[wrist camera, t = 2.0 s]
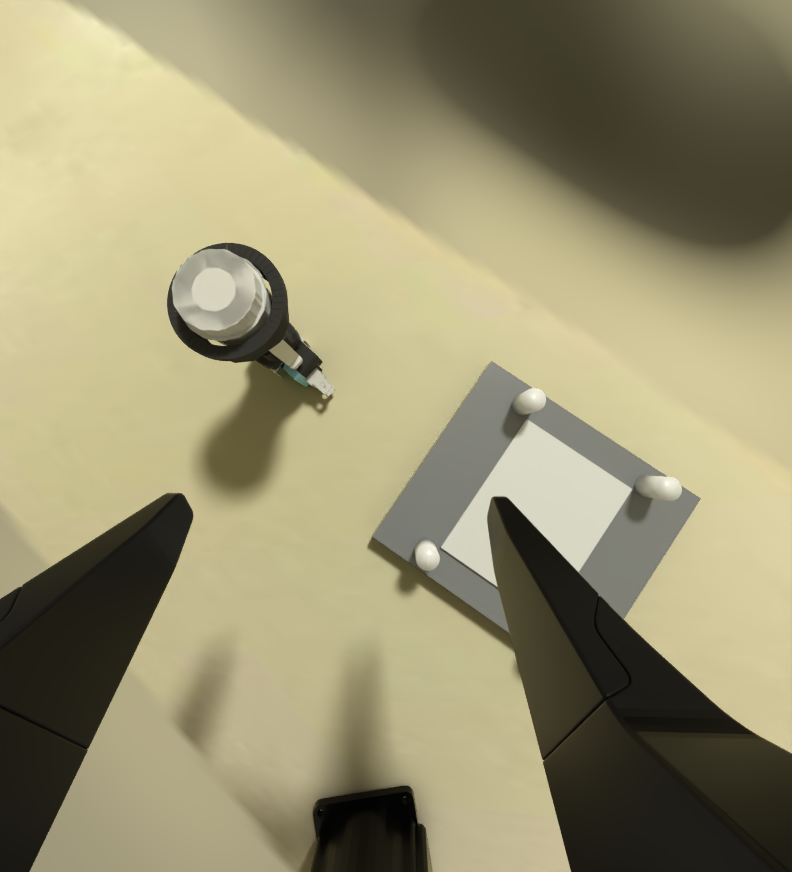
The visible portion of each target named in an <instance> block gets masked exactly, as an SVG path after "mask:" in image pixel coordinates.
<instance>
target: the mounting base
mask: <svg viewBox="0 0 792 872" xmlns="http://www.w3.org/2000/svg"><path fill="white" fill-rule="evenodd" d="M493 496H505V497H507V498H509V499H510V500H511V501H512V503H513V504H514V505H515V506H516V507H517V508H518V509H519V510H520V511H521V512H522V513H523V514H524V515H525V516H526V517H527V518H528V519H529V521H530V522H531V523H532V524H533V525H534V526H535V527H536V528H537V529H538V530H539V531H540V532H541V533H542V534H543V535H544V536H545V537H546V538H547V540H548V541H549V542H550V543H551V544H552V545H553V546H554V547H555V548H556V549H557V550H558V551H559V552H560V553H561V554H562V555H563V556H564V558H565V559H566V560H567V561H568V562H569V563H570V564H571V565H572V566H573V567H574V568H575V569H576V570H577V571H578V572H579V573H580V574H581V575H582V577H583V578H584V579H585V580H586V581H587V582H588V583H589V584H590V585H591V586H592V587H593V588H594V589H595V590H596V591H597V592H598V594H599V595H598V596H601V597H602V598H603V599H604V600H605V601H606V602H607V603H608V604H609V605H610V606H611V607H612V608H613V609H614V610H615V611H616V612H617V613H618V614H619V615H620V616H621V617H622V618H623V619H624V618H625V616H626V615H627V613H628V612H629V610H630V609H631V607H632V605H633V604H634V602H635V601H636V599H637V598H638V596H639V594H640V593H641V591H642V590H643V588H644V587H645V585H646V584H647V582H648V580H649V579H650V577H651V576H652V574H653V573H654V571H655V569H656V568H657V566H658V565H659V563H660V562H661V560H662V559H663V557H664V555H665V554H666V552H667V551H668V549H669V548H670V546H671V544H672V543H673V541H674V540H675V538H676V537H677V535H678V533H679V532H680V530H681V529H682V527H683V526H684V524H685V523H686V521H687V519H688V518H689V516H690V515H691V513H692V512H693V510H694V508H695V507H696V505H697V504H698V502H699V501H700V499H701V498H699V497H698V496H696V495H695V494H693V493H691V492H690V491H688V490H687V489H685V488H684V487H682V486H681V484H680V482H679V481H678V480H677V479H675V478H672V477H667V476H666V475H664V474H663V473H661V472H660V471H658V470H657V469H655V468H653V467H652V466H650V465H649V464H647V463H646V462H644V461H643V460H641V459H640V458H638V457H637V456H635V455H634V454H632V453H631V452H629V451H628V450H626V449H625V448H623V447H622V446H620V445H619V444H617V443H615V442H614V441H612V440H611V439H609V438H608V437H606V436H605V435H603V434H602V433H600V432H599V431H597V430H596V429H594V428H593V427H591V426H590V425H588V424H587V423H585V422H584V421H582V420H581V419H579V418H578V417H576V416H574V415H573V414H571V413H570V412H568V411H567V410H565V409H564V408H562V407H561V406H559V405H558V404H556V403H555V402H553V401H552V400H550V399H549V398H547V397H546V396H545V394H544V393H543V392H542V391H541V390H540V389H537V388H532V387H530V386H529V385H527V384H526V383H524V382H523V381H521V380H520V379H518V378H517V377H515V376H514V375H512V374H511V373H509V372H508V371H506V370H505V369H503V368H502V367H500V366H498V365H497V364H495V363H494V362H492V361H491V362H490V363H489V364H488V365H487V367H486V368H485V370H484V371H483V373H482V374H481V376H480V377H479V379H478V380H477V382H476V383H475V384H474V386H473V387H472V389H471V390H470V392H469V393H468V395H467V396H466V398H465V399H464V401H463V402H462V404H461V405H460V407H459V408H458V409H457V411H456V412H455V414H454V415H453V417H452V418H451V420H450V421H449V423H448V424H447V426H446V427H445V429H444V430H443V432H442V433H441V434H440V436H439V437H438V439H437V440H436V442H435V443H434V445H433V446H432V448H431V449H430V451H429V452H428V454H427V455H426V457H425V458H424V459H423V461H422V462H421V464H420V465H419V467H418V468H417V470H416V471H415V473H414V474H413V476H412V477H411V479H410V480H409V482H408V483H407V485H406V486H405V487H404V489H403V490H402V492H401V493H400V495H399V496H398V498H397V499H396V501H395V502H394V504H393V505H392V507H391V508H390V510H389V511H388V512H387V514H386V515H385V517H384V518H383V520H382V521H381V523H380V524H379V526H378V527H377V529H376V530H375V532H374V533H373V536H372V537H373V538H375V539H376V540H378V541H379V542H380V543H382V544H383V545H385V546H386V547H388V548H389V549H390V550H392V551H393V552H395V553H396V554H397V555H399V556H400V557H402V558H403V559H405V560H406V561H407V562H409V563H410V564H412V565H413V566H415V567H416V568H417V569H419V570H420V571H422V572H423V573H424V574H426V575H427V576H429V577H430V578H432V579H433V580H434V581H436V582H437V583H439V584H440V585H442V586H443V587H444V588H446V589H447V590H449V591H450V592H451V593H453V594H454V595H456V596H457V597H459V598H460V599H461V600H463V601H464V602H466V603H467V604H469V605H470V606H471V607H473V608H474V609H476V610H477V611H478V612H480V613H481V614H483V615H484V616H486V617H487V618H488V619H490V620H491V621H493V622H494V623H496V624H497V625H498V626H500V627H501V628H503V629H504V630H505V631H507V632H508V633H510V632H509V629H508V625H507V621H506V617H505V613H504V609H503V605H502V602H501V598H500V594H499V590H498V586H497V582H496V578H495V574H494V568H493V561H492V554H491V546H490V539H489V532H488V525H487V514H488V510H489V506H490V501H491V498H492V497H493Z"/></svg>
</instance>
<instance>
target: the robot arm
mask: <svg viewBox="0 0 792 872" xmlns="http://www.w3.org/2000/svg"><path fill="white" fill-rule="evenodd" d="M192 520H193V511H192V509H191V507H190V505H189V503H188V501H187V500H186V498H185V496H184V495H183V494H181V493H167V494H165V495H163V496H161V497H160V498H158V499H157V500H155V501H153V502H152V503H150V504H149V505H147V506H146V507H144V508H143V509H141V510H139V511H138V512H136V513H135V514H133V515H132V516H130V517H128V518H127V519H125V520H124V521H122V522H121V523H119V524H117V525H116V526H114V527H113V528H111V529H110V530H108V531H106V532H105V533H103V534H102V535H100V536H99V537H97V538H95V539H94V540H92V541H91V542H89V543H88V544H86V545H84V546H83V547H81V548H80V549H78V550H77V551H75V552H73V553H72V554H70V555H69V556H67V557H66V558H64V559H62V560H61V561H59V562H58V563H56V564H55V565H53V566H51V567H50V568H48V569H47V570H45V571H44V572H42V573H40V574H39V575H38V576H36V577H34V578H33V579H31V580H29V581H28V582H26V583H25V584H23V586H22V587H18V588H17V589H15V590H14V591H12V592H11V593H9V594H7V595H6V596H4V597H3V598H1V599H0V872H29V871H30V869H31V867H32V865H33V863H34V861H35V859H36V857H37V855H38V853H39V850H40V848H41V846H42V844H43V842H44V840H45V838H46V836H47V834H48V832H49V830H50V828H51V826H52V824H53V821H54V819H55V817H56V815H57V813H58V811H59V809H60V807H61V805H62V803H63V801H64V799H65V797H66V794H67V792H68V790H69V788H70V786H71V784H72V782H73V780H74V778H75V776H76V774H77V772H78V769H79V768H80V765H81V763H82V761H83V759H84V757H85V755H86V753H87V751H88V750H87V748H89V746H90V744H91V742H92V740H93V738H94V736H95V734H96V732H97V729H98V728H99V725H100V723H101V721H102V719H103V717H104V715H105V713H106V711H107V709H108V707H109V704H110V702H111V701H112V698H113V696H114V694H115V692H116V690H117V688H118V686H119V684H120V682H121V680H122V678H123V676H124V674H125V672H126V669H127V667H128V665H129V663H130V661H131V659H132V657H133V655H134V653H135V651H136V649H137V647H138V645H139V642H140V640H141V638H142V636H143V634H144V632H145V630H146V628H147V626H148V624H149V622H150V620H151V618H152V616H153V613H154V611H155V609H156V607H157V605H158V603H159V601H160V599H161V597H162V595H163V593H164V591H165V589H166V586H167V584H168V582H169V580H170V578H171V576H172V574H173V572H174V569H175V567H176V565H177V562H178V559H179V557H180V554H181V551H182V548H183V546H184V543H185V540H186V537H187V534H188V532H189V529H190V526H191V523H192ZM487 525H488V532H489V539H490V546H491V554H492V561H493V568H494V574H495V578H496V582H497V586H498V590H499V594H500V598H501V602H502V605H503V609H504V613H505V617H506V621H507V625H508V629H509V632H510V636H511V640H512V644H513V648H514V652H515V656H516V660H517V663H518V667H519V671H520V675H521V679H522V683H523V687H524V690H525V694H526V698H527V702H528V706H529V710H530V714H531V718H532V721H533V725H534V729H535V733H536V737H537V741H538V745H539V748H540V752H541V756H542V759H543V760H544V761H543V765H544V768H545V772H546V776H547V780H548V784H549V788H550V792H551V796H552V799H553V803H554V807H555V811H556V815H557V819H558V823H559V826H560V830H561V834H562V838H563V842H564V846H565V850H566V854H567V857H568V861H569V865H570V869H571V872H792V753H790V752H788V751H786V750H784V749H782V748H781V747H779V746H777V745H775V744H773V743H771V742H769V741H768V740H766V739H764V738H762V737H760V736H758V735H757V734H755V733H754V732H752V731H750V730H749V729H747V728H746V727H744V726H743V725H741V724H740V723H739V722H737V721H736V720H734V719H733V718H732V717H730V716H729V715H728V714H727V713H725V712H724V711H723V710H721V709H720V708H719V707H718V706H717V705H716V704H715V703H713V702H712V701H711V700H710V699H709V698H708V697H707V696H706V695H704V694H703V693H702V692H701V691H700V690H699V689H698V688H697V687H696V686H695V685H693V684H692V683H691V682H690V681H689V680H688V679H687V678H686V677H685V676H684V675H682V674H681V673H680V672H679V671H678V670H677V669H676V668H675V667H674V666H673V665H671V664H670V663H669V662H668V661H667V660H666V659H665V658H664V657H663V656H662V655H660V654H659V653H658V652H657V651H656V650H655V649H654V648H653V647H652V646H651V645H650V644H649V643H647V642H646V641H645V640H644V639H643V638H642V637H641V636H640V635H639V634H638V633H637V632H636V631H635V630H634V629H633V628H632V627H631V626H630V625H629V624H628V623H627V622H626V621H625V620H624V619H623V618H622V617H621V616H620V615H619V614H618V613H617V612H616V611H615V610H614V609H613V608H612V607H611V606H610V605H609V604H608V603H607V602H606V601H605V600H604V599H603V598H602V597H601V596H598V595H599V594H598V592H597V591H596V590H595V589H594V588H593V587H592V586H591V585H590V584H589V583H588V582H587V581H586V580H585V579H584V578H583V577H582V575H581V574H580V573H579V572H578V571H577V570H576V569H575V568H574V567H573V566H572V565H571V564H570V563H569V562H568V561H567V560H566V559H565V558H564V556H563V555H562V554H561V553H560V552H559V551H558V550H557V549H556V548H555V547H554V546H553V545H552V544H551V543H550V542H549V541H548V540H547V538H546V537H545V536H544V535H543V534H542V533H541V532H540V531H539V530H538V529H537V528H536V527H535V526H534V525H533V524H532V523H531V522H530V521H529V519H528V518H527V517H526V516H525V515H524V514H523V513H522V512H521V511H520V510H519V509H518V508H517V507H516V506H515V505H514V504H513V503H512V501H511V500H510V499H509V498H507V497H505V496H493V497H492V498H491V501H490V506H489V510H488V514H487ZM404 796H408V798H404ZM320 809H322V810H324V811H320ZM313 816H314V823H315V830H316V837H317V845H316V849H315V854H314V858H313V863H312V867H311V872H432V864H431V858H430V852H429V846H428V839H427V833H426V828H425V827H424V825H423V824H419V823H418V817H417V811H416V805H415V799H414V793H413V790H412V789H411V787H409V786H400V787H394V788H388V789H381V790H375V791H369V792H363V793H356V794H350V795H344V796H338V797H331V798H325V799H320V800H318V801H317V802H316V804H315V808H314V812H313Z"/></svg>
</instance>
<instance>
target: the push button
mask: <svg viewBox="0 0 792 872" xmlns="http://www.w3.org/2000/svg"><path fill="white" fill-rule="evenodd" d="M263 278H264V279H265V280H267V281H268V282H269V284H270V287H271V291H272V295H271V293H270V292H269V290H268V289H267V288H266V286H265V283H264V281H263ZM167 308H168V315H169V319H170V322H171V325H172V327H173V329H174V331H175V332H176V334H177V335H178V337H179V338H180V339H181V340H182V342H183V343H184V344H186V345H187V346H188V347H189V348H191V349H192V350H194V351H195V352H197V353H199V354H201V355H203V356H205V357H208V358H211V359H214V360H220V361H232V362H234V363H238V362H248V361H254V360H256V361H257V362H259V363H260V364H262V365H263V366H265V367H267V368H269V369H270V370H271V371H273V372H274V373H275V374H276V375H278V376H279V377H281V378H282V376H281V375H280V374H279V373H277V370H278V369H279V368H280V366H281V367H282V368H283V369H284V370H285V371H286V372H287V373H288V374H289V375H290V376H291V377H292V378H293V379H294V380H295V381H297V382H298V383H300V384H302V385H303V386H305V387H307V386H308V385H309V384H310V385H311V386H313V387H314V388H316V387H317V388H318V389H319V390H320V391H321V392H322V393H323V394H325V395H326V396H330V395H331V393H332V392H333V391H334V390H335V388H334V387H333V386H332V385H331V384H330V383H329V382H328V381H327V380H326V379H324V378H325V376H324V375H323V374H322V373H321V371H322V369H321V368H320V367H319V366H320V365H321V364H322V361H321V360H320V358H319V357H318V356H317V355H316V354H315V353H314V352H312V351H311V350H310V349H309V348H308V347H307V346H309V347H310V345H309V344H308V343H307V342H306V341H305V340H304V339H303V338H302V337H301V336H300V335H299V334H298V332H297V331H296V330H295V328H294V327H293V326H292V325H291V324H290V323H289V314H288V299H287V291H286V287H285V284H284V281H283V279H282V277H281V275H280V273H279V272H278V270H277V269H276V267H275V266H274V265H273V263H272V262H271V261H270V260H269V259H268V258H267V257H266V256H264V255H263V254H262V253H260V252H259V251H257V250H255V249H253V248H251V247H248V246H245V245H242V244H236V243H221V244H215V245H211V246H208V247H206V248H203V249H201V250H199V251H198V252H196V253H194V254H193V255H191V256H190V257H189V258H188V259H187V260H186V261H184V262H183V264H182V265H181V266H180V268H179V269H178V270H177V272H176V273H175V275H174V277H173V279H172V282H171V284H170V288H169V291H168V298H167ZM208 339H210V340H216V341H218V342H220V343H221V344H223V345H225V346H217V345H213V344H211V343H210V342H209V341H208ZM303 342H304V343H305V344H306V345H307V346H306V345H305V344H304V343H303ZM324 386H326V387H325V388H324Z"/></svg>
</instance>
